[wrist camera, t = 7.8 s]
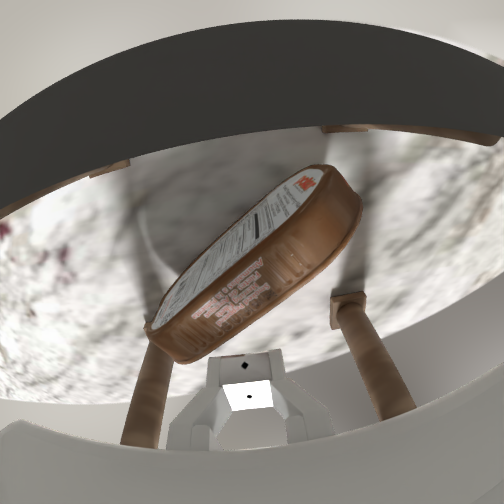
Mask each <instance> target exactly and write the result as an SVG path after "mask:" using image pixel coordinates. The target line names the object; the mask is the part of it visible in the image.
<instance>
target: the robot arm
mask: <svg viewBox="0 0 504 504" xmlns="http://www.w3.org/2000/svg"><path fill="white" fill-rule="evenodd" d="M266 406H273V407H274V408H275V409H276V410H277V411H278V413H279V414H280V415H281V416H282V417H283V418H284V419H285V425H286V432H287V442H288V444H286V445H279V446H271V447H263V448H254V449H241V450H224V449H223V448H222V446H221V445H220V443H219V442H218V440H217V438H216V437H217V435H218V434H219V432H220V431H221V429H222V427H223V426H224V425H225V423H226V421H227V420H228V418H229V417H230V415H231V413H232V412H233V411H232V410H240V409H247V408H257V407H266ZM0 504H504V362H503V363H501V364H499V365H497V366H496V367H494V368H493V369H491V370H490V371H488V372H486V373H485V374H483V375H482V376H480V377H478V378H476V379H475V380H473V381H471V382H470V383H468V384H466V385H464V386H462V387H461V388H458V389H457V390H455V391H453V392H451V393H449V394H447V395H445V396H443V397H441V398H438V399H436V400H434V401H432V402H430V403H428V404H425V405H423V406H421V407H418V408H416V409H414V410H411V411H409V412H406V413H403V414H401V415H398V416H396V417H393V418H390V419H387V420H384V421H381V422H378V423H375V424H372V425H369V426H366V427H362V428H359V429H356V430H352V431H348V432H345V433H341V434H337V435H335V432H334V428H333V425H332V421H331V417H330V414H329V410H328V408H327V407H325V406H324V405H323V404H321V403H320V402H319V401H318V400H316V399H315V398H314V397H313V396H311V395H310V394H309V393H308V392H307V391H305V390H304V389H303V388H302V387H300V386H299V385H298V384H297V383H296V382H294V381H293V380H292V379H291V378H286V373H285V367H284V362H283V356H282V351H281V349H275V350H269V352H268V351H262V352H255V353H248V354H242V355H231V356H221V357H209V359H208V367H207V378H206V388H202V389H201V390H200V391H199V392H198V393H197V394H196V396H195V397H194V398H193V399H192V400H191V401H190V402H189V403H188V404H187V406H186V407H185V408H184V409H183V410H182V411H181V412H180V413H179V414H178V416H177V417H176V418H175V419H174V420H173V421H172V422H171V423H170V426H169V432H168V439H167V445H166V450H162V449H151V448H141V447H133V446H125V445H118V444H112V443H107V442H101V441H96V440H92V439H87V438H82V437H78V436H74V435H70V434H67V433H63V432H60V431H56V430H53V429H50V428H46V427H43V426H40V425H37V424H34V423H32V422H29V421H26V420H23V419H18V420H16V421H14V422H12V423H11V424H9V425H8V426H6V427H5V428H4V429H2V430H1V431H0Z"/></svg>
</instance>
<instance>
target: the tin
mask: <svg viewBox="0 0 504 504" xmlns="http://www.w3.org/2000/svg"><path fill="white" fill-rule="evenodd" d="M362 211H363V204H362V200H361V198H360V196H359V195H358V194H357V193H356V192H354V191H353V190H352V188H351V187H350V186H349V184H348V183H347V182H346V180H345V179H344V177H343V176H342V175H341V174H340V173H339V171H338V170H337V169H336V168H335V167H333V166H331V165H321V164H316V165H310V166H308V167H306V168H304V169H302V170H300V171H298V172H297V173H295V174H294V175H292V176H290V177H289V178H288V179H286V180H285V181H283V182H282V183H281V184H279V185H278V186H277V187H276V188H274V189H273V190H272V191H271V192H270V193H268V194H267V195H266V196H265V197H264V198H263V199H262V200H260V201H259V202H258V203H257V204H256V205H255V206H253V207H252V208H251V209H250V210H249V211H248V212H247V213H245V214H244V215H243V216H242V217H241V218H240V219H238V220H237V221H236V222H235V223H234V224H233V225H232V226H231V227H229V228H228V229H227V230H226V231H225V232H224V233H223V234H222V235H221V236H220V237H219V238H217V239H216V240H215V241H214V242H213V243H212V244H211V245H210V246H209V247H208V248H207V249H206V250H205V251H204V252H203V253H202V254H200V255H199V256H198V257H197V258H196V259H195V260H194V261H193V262H192V263H191V264H190V265H189V266H188V268H187V269H186V270H185V271H184V272H183V273H182V274H181V275H180V276H179V277H178V279H177V280H176V281H175V282H174V283H173V285H172V286H171V287H170V288H169V290H168V291H167V293H166V294H165V295H164V297H163V298H162V300H161V302H160V305H159V308H158V310H157V312H156V314H155V316H154V318H153V320H152V322H151V324H150V326H149V327H148V328H147V330H146V334H147V337H148V338H149V339H150V340H151V341H152V342H153V343H154V344H155V345H156V346H158V347H159V348H160V349H161V350H163V351H164V352H165V353H167V354H168V355H169V356H171V357H172V359H173V360H174V361H175V362H176V363H178V364H190V363H192V362H195V361H197V360H199V359H201V358H203V357H204V356H206V355H207V354H209V353H210V352H212V351H213V350H215V349H216V348H218V347H219V346H221V345H222V344H224V343H225V342H226V341H228V340H229V339H231V338H233V337H234V336H235V335H237V334H238V333H240V332H241V331H242V330H244V329H245V328H247V327H248V326H249V325H251V324H252V323H254V322H255V321H256V320H258V319H259V318H261V317H262V316H263V315H265V314H266V313H268V312H269V311H270V310H272V309H273V308H274V307H276V306H277V305H279V304H280V303H281V302H283V301H284V300H286V299H287V298H288V297H289V296H291V295H292V294H293V293H295V292H296V291H297V290H299V289H300V288H301V287H303V286H304V285H305V284H307V283H308V282H309V281H311V280H312V279H313V278H314V277H316V276H317V275H318V274H319V273H320V272H322V271H323V270H324V269H325V268H326V267H327V266H328V265H329V264H331V263H332V262H333V260H334V259H335V258H336V257H337V256H338V255H339V254H340V252H341V251H342V250H343V249H344V248H345V246H346V245H347V244H348V242H349V241H350V239H351V238H352V236H353V234H354V233H355V231H356V229H357V227H358V225H359V222H360V220H361V216H362Z"/></svg>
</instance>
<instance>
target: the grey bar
mask: <svg viewBox="0 0 504 504" xmlns="http://www.w3.org/2000/svg"><path fill="white" fill-rule="evenodd" d="M352 124H387V125H412V126H427V127H439V128H448V129H457V130H465V131H472V132H478V133H484V134H490V135H495V136H501V137H504V67H502V66H500V65H498V64H496V63H494V62H492V61H490V60H488V59H486V58H483V57H481V56H479V55H476V54H474V53H472V52H469V51H467V50H464V49H461V48H459V47H456V46H453V45H450V44H448V43H445V42H441V41H438V40H435V39H432V38H428V37H425V36H421V35H417V34H413V33H409V32H405V31H401V30H396V29H391V28H386V27H380V26H374V25H368V24H360V23H352V22H342V21H329V20H270V21H269V20H268V21H255V22H245V23H236V24H229V25H222V26H216V27H211V28H205V29H200V30H195V31H190V32H186V33H182V34H178V35H174V36H170V37H167V38H163V39H159V40H156V41H153V42H149V43H146V44H143V45H140V46H137V47H134V48H131V49H129V50H126V51H123V52H121V53H118V54H115V55H113V56H110V57H108V58H105V59H103V60H101V61H98V62H96V63H94V64H92V65H89V66H87V67H85V68H83V69H81V70H79V71H77V72H75V73H73V74H71V75H69V76H67V77H65V78H63V79H62V80H60V81H58V82H56V83H54V84H53V85H51V86H49V87H48V88H46V89H44V90H43V91H41V92H39V93H38V94H36V95H35V96H33V97H31V98H30V99H28V100H27V101H25V102H24V103H22V104H21V105H20V106H18V107H17V108H15V109H14V110H13V111H11V112H10V113H8V114H7V115H6V116H5V117H3V118H2V119H1V120H0V209H2V208H4V207H6V206H8V205H10V204H12V203H14V202H16V201H18V200H20V199H23V198H25V197H27V196H29V195H31V194H33V193H36V192H38V191H40V190H43V189H45V188H47V187H50V186H52V185H55V184H57V183H60V182H62V181H65V180H67V179H70V178H73V177H75V176H78V175H81V174H84V173H86V172H89V171H92V170H95V169H98V168H101V167H104V166H107V165H110V164H113V163H117V162H120V161H123V160H127V159H130V158H134V157H137V156H141V155H144V154H148V153H152V152H156V151H160V150H164V149H168V148H172V147H177V146H181V145H185V144H190V143H195V142H200V141H205V140H210V139H215V138H221V137H227V136H233V135H239V134H246V133H253V132H260V131H268V130H277V129H286V128H297V127H310V126H325V125H352Z"/></svg>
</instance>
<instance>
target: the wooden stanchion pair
mask: <svg viewBox="0 0 504 504" xmlns="http://www.w3.org/2000/svg"><path fill="white" fill-rule="evenodd" d="M368 129H381V130H392V131H402V132H410V133H418V134H426V135H432V136H439V137H444V138H450V139H455V140H461V141H465V142H470V143H475V144H479V145H483V146H493V145H495V144H496V143H497V142H498V141H499V139H500V138H501V136H495V135H490V134H484V133H478V132H472V131H465V130H457V129H448V128H439V127H427V126H412V125H387V124H352V125H325V126H322V132H323V133H335V132H366V131H368ZM128 166H130V162H129V159H127V160H123V161H120V162H117V163H113V164H110V165H107V166H104V167H101V168H98V169H95V170H92V171H89V172H86V173H84V174H81V175H78V176H75V177H73V178H70V179H67V180H65V181H62V182H60V183H57V184H55V185H52V186H50V187H47V188H45V189H43V190H40V191H38V192H36V193H33V194H31V195H29V196H27V197H25V198H23V199H20V200H18V201H16V202H14V203H12V204H10V205H8V206H6V207H4V208H2V209H0V219H2V218H4V217H5V216H7V215H9V214H11V213H12V212H14V211H16V210H18V209H20V208H21V207H23V206H25V205H27V204H29V203H31V202H33V201H35V200H37V199H39V198H41V197H43V196H45V195H47V194H49V193H51V192H53V191H55V190H57V189H59V188H61V187H64V186H66V185H68V184H70V183H73V182H75V181H77V180H80V179H82V178H84V177H87V176H89V177H90V178H93V177H96V176H99V175H102V174H105V173H109V172H112V171H115V170H118V169H122V168H125V167H128ZM366 298H367V296H366V294H365V293H364V291H361V292H356V293H351V294H346V295H341V296H336V297H331V298H330V326H331V329H332V330H335V329H340V328H341V330H342V333H343V335H344V337H345V339H346V342H347V344H348V346H349V348H350V351H351V353H352V355H353V357H354V360H355V362H356V364H357V367H358V369H359V372H360V374H361V376H362V379H363V381H364V384H365V386H366V388H367V391H368V393H369V395H370V398H371V401H372V403H373V406H374V408H375V410H376V413H377V416H378V418H379V421H380V422H381V421H384V420H387V419H390V418H393V417H396V416H398V415H401V414H403V413H406V412H409V411H411V410H414V409H416V408H417V407H416V405H415V403H414V401H413V399H412V397H411V395H410V393H409V391H408V389H407V387H406V385H405V383H404V382H403V379H402V377H401V376H400V374H399V372H398V370H397V368H396V367H395V364H394V362H393V361H392V359H391V357H390V355H389V354H388V352H387V350H386V348H385V346H384V344H383V343H382V341H381V339H380V337H379V336H378V334H377V332H376V330H375V329H374V327H373V325H372V324H371V322H370V320H369V319H368V317H367V315H366V313H365V307H366ZM150 324H151V322H147V323H145V325H144V328H143V329H144V331H145V333H146V330H147V328H148V327H149V326H150ZM146 335H147V334H146ZM148 339H149V338H148ZM149 341H150V342H149V345H148V348H147V351H146V354H145V357H144V360H143V364H142V367H141V370H140V373H139V376H138V380H137V383H136V386H135V390H134V393H133V397H132V400H131V404H130V407H129V411H128V414H127V418H126V422H125V426H124V430H123V434H122V438H121V442H120V445H125V446H133V447H141V448H151V449H158V442H159V436H160V431H161V425H162V419H163V413H164V408H165V402H166V398H167V392H168V387H169V382H170V377H171V373H172V368H173V363H174V360H173V359H172V357H171V356H169V355H168V354H167V353H165V352H164V351H163V350H161V349H160V348H159V347H158V346H156V345H155V344H154V343H153V342H152V341H151V340H150V339H149Z"/></svg>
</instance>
